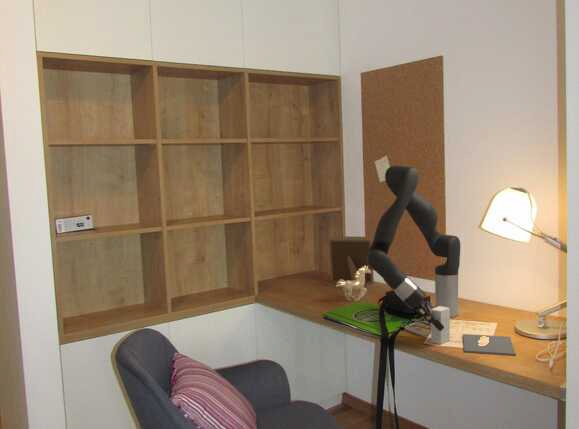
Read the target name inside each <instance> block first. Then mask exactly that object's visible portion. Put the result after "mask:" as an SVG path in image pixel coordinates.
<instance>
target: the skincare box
mask: <svg viewBox="0 0 579 429" xmlns="http://www.w3.org/2000/svg"><path fill="white" fill-rule="evenodd" d="M431 310H432V311H433V312H434V316H435V317H436V319H437V320H438V321H439V322H440V323H441V324H442V325H443V326H444V328H443V329H442V330H441V331H439V330H438V329H437V328H436V327H435V326H434V325H433V324H431V329H430V331H431V334H430V342H431V343H434V344H438V345H443V344H444V343H446V342H449V341H450V338H451V335H450V334H451V333H450V331H451V330H450V328H451V322H450V320H451V319H450V318H451V317H450V309H449V308H447V307H442V306H438V307H436V308H433V309H431ZM448 340H449V341H448Z"/></svg>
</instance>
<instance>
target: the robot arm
mask: <svg viewBox="0 0 579 429" xmlns="http://www.w3.org/2000/svg"><path fill="white" fill-rule="evenodd" d="M419 178H420V176H419V171H418V170H417V168H415V167H413V166H405V165H391V166H390V167H388V168H387V169H386V170H385V173H384V180H385V183H386V185H387V187H388V188H389V190H390V191H391V193H393V195H394V196H395V197H396V198H395V200H394V201H393V202H392V204H391V205H390V206H389V207H388V208H387V209H386V211H385V212H384V213H383V214H382V215H381V217H380V219H379V221H378V223H377V225H376V229H375V232H374V236H373V239H372V245H371V247H370V250H369V252H368V255H367V258H366V262H367V265H368V266H369V267H370V268H371V269H373V271H375V272H376V273H377V274H378V275H379V276H380V277H381V278H382V280H383V281H384V282H385V284H386V285H387V286H388V287H389V288H390V289H391V290H392V291H393V292H394V293H395V294H396V295H397V296H398V297H399V299H400V300H401V301H402V302H403V303H404V304H405V305H406V306H408V307H409V309H410V310H411V309H415V308H417V309H418V310H417V313H418V314H420V316H421V317H422V318H423V319H424V320H425V322H427V323H429V324H433V325H434V326H435V327H436V328H437V329H438V330H439V331H441V330H442V329H443V328H444V326H443V325H442V324H441V323H440V322H439V321H438V320H437V319H436V317H435V316H434V312H433V311H432V310H431V309H433V308H436V307H438V306H442V307H447V308H449V309H450V318H454V317H457V316H458V315H459V270H460V265H461V264H460V262H461V240H460V239H459V237H458V236H456V235H452V234H451V235H450V234H442V233H440V232H439V231H438V230H437V223H438V221H439V216H438V213H437V211H436V209H435V208H434V206H433V204H432V203H431V201H429V200H428V199H427V198H426V197H425V196H423V195H421V194H420V193H419V192H417V191H416V189H417V186H418V183H419ZM405 211H407V213H408V214H409V217H410V218H411V219H412V221H413V222H414V224H415V225H416V226H417V228H418V229H419V231H420V232H421V234H422V236H423V237H424V240H425V241H426V243H427V245H428V248H429V250H430V251H431V253H432V254H433V255H434V256H436V257H441V258H446V259H445V262H444V263H442V264H438V265H436V266H435V268H434V305H432V303H431V302H430V301H429V300H428V299H427V298H426V296H427V293H425V292H424V291H423V290H422V289H421V288H420V286H418V285H417V283H415V282H414V281H413V280H412V279H411V278H409V277H408V275H406V274H405V272H403V271H402V270H401V269H400V268H399V267H397V265H396V264H395V263H394V261H392V259H391V258H390V257H389V256H388V254H389V250H390V247H391V246H392V243H394V239H395V236H396V232H397V230H398V227H399V223H400V221H401V219H402V217H403V215H404V213H405Z"/></svg>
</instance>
